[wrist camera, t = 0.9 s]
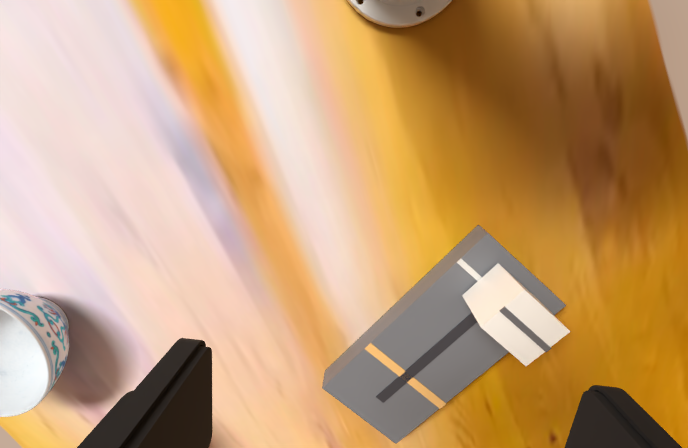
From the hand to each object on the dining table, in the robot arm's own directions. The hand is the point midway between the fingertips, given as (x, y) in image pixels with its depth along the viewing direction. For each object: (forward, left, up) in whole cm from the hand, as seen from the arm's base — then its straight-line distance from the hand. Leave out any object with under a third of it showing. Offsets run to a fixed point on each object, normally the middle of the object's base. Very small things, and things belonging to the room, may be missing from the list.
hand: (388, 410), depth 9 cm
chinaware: (+40, -20, -30) cm, 54 cm away
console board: (+8, +17, -30) cm, 36 cm away
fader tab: (-1, +17, -27) cm, 32 cm away
